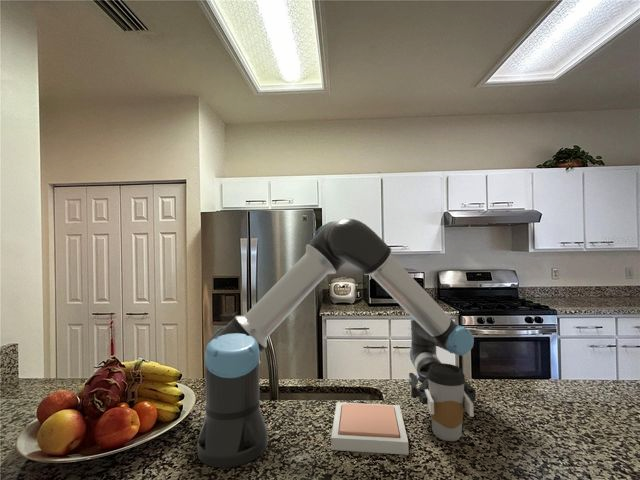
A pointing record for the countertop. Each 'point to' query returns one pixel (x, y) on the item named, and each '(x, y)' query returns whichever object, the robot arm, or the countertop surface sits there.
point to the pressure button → (368, 420)
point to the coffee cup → (446, 400)
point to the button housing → (369, 437)
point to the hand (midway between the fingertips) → (451, 409)
